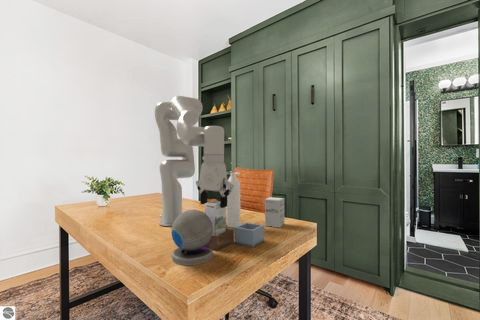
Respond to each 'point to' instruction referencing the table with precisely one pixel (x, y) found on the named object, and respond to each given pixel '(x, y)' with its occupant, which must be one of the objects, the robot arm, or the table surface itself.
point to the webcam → (192, 238)
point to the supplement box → (274, 212)
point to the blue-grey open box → (249, 234)
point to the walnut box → (221, 240)
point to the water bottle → (234, 202)
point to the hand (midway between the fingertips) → (213, 205)
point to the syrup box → (216, 216)
